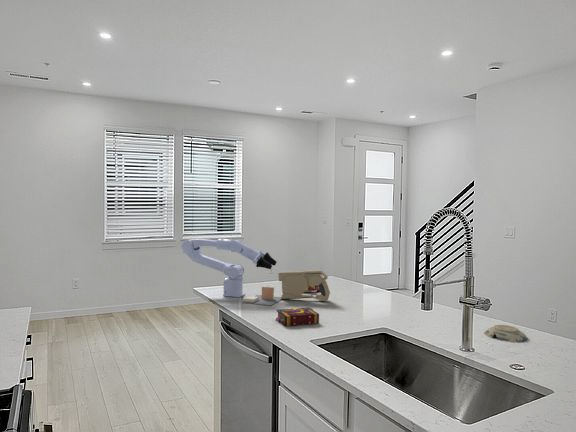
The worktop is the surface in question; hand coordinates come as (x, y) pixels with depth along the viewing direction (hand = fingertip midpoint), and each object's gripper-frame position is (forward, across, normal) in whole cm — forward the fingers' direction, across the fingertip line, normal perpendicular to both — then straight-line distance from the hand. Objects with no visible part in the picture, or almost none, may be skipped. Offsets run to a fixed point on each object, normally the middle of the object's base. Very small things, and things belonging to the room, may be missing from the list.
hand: (273, 265), depth 227 cm
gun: (+21, -1, +9) cm, 23 cm away
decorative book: (+26, -40, +2) cm, 48 cm away
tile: (+5, -6, +15) cm, 17 cm away
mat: (+4, -9, +16) cm, 18 cm away
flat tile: (-1, -13, +17) cm, 21 cm away
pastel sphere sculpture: (+16, +27, +15) cm, 35 cm away
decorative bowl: (+99, -33, -30) cm, 109 cm away
